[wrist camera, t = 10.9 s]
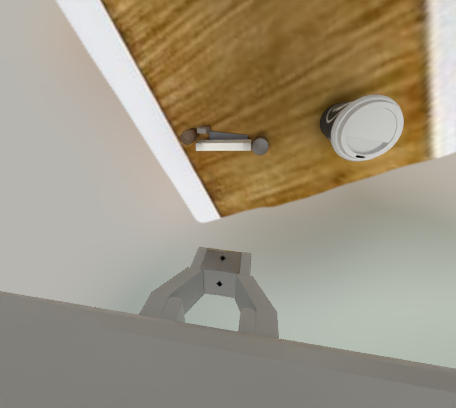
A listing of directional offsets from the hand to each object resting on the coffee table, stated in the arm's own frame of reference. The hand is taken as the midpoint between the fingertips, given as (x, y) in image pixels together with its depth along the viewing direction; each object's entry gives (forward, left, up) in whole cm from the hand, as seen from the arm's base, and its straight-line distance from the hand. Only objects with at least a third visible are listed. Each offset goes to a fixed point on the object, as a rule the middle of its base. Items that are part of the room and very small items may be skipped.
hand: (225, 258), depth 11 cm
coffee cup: (-5, +17, -39) cm, 43 cm away
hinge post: (+1, +2, -39) cm, 39 cm away
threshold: (+1, -5, -39) cm, 39 cm away
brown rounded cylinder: (+1, -13, -39) cm, 41 cm away
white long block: (+2, -6, -38) cm, 39 cm away
